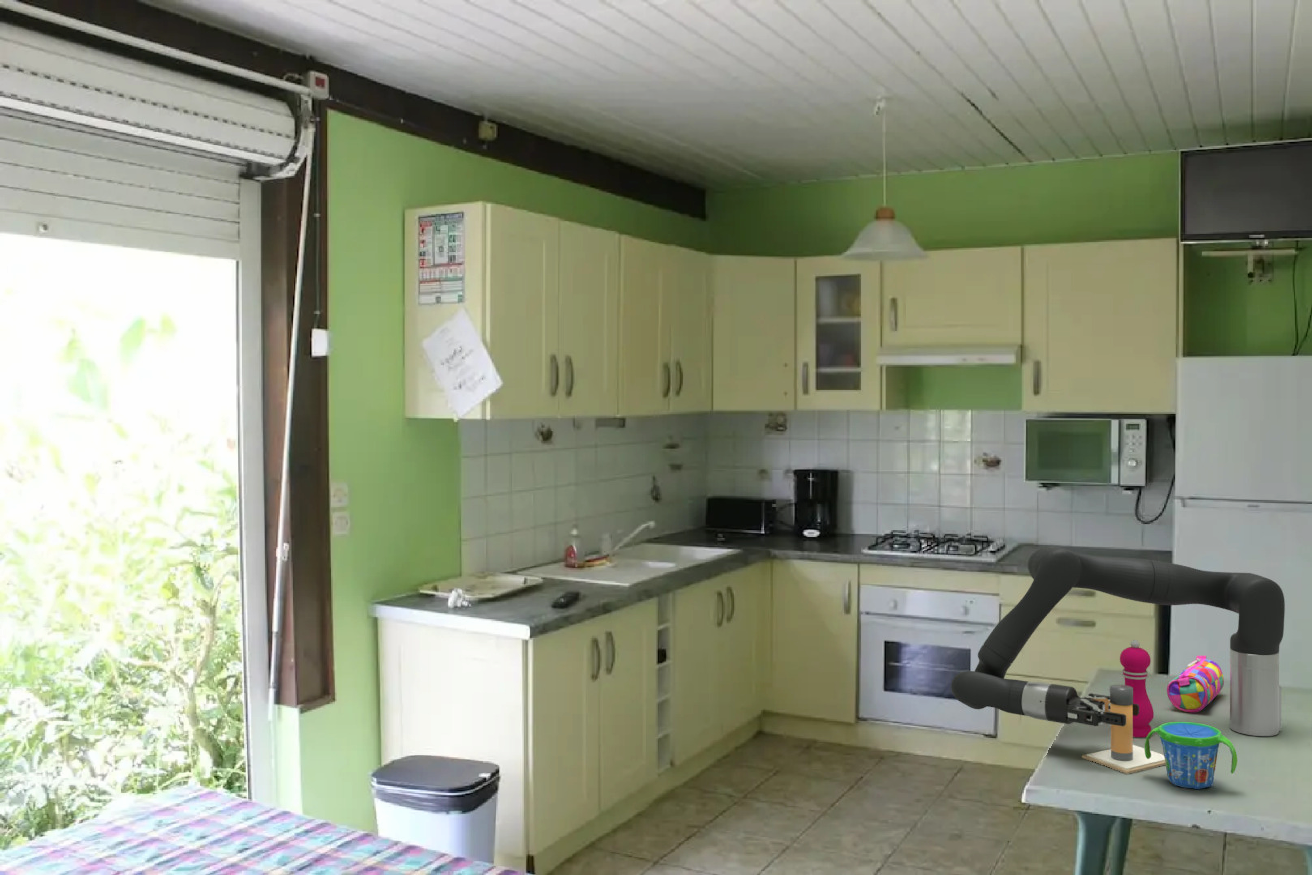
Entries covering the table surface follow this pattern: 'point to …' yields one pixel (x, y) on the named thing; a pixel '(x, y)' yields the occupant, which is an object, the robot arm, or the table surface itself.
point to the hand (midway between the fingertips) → (1132, 715)
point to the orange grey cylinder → (1122, 734)
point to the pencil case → (1196, 685)
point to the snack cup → (1190, 752)
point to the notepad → (1128, 766)
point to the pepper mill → (1138, 686)
